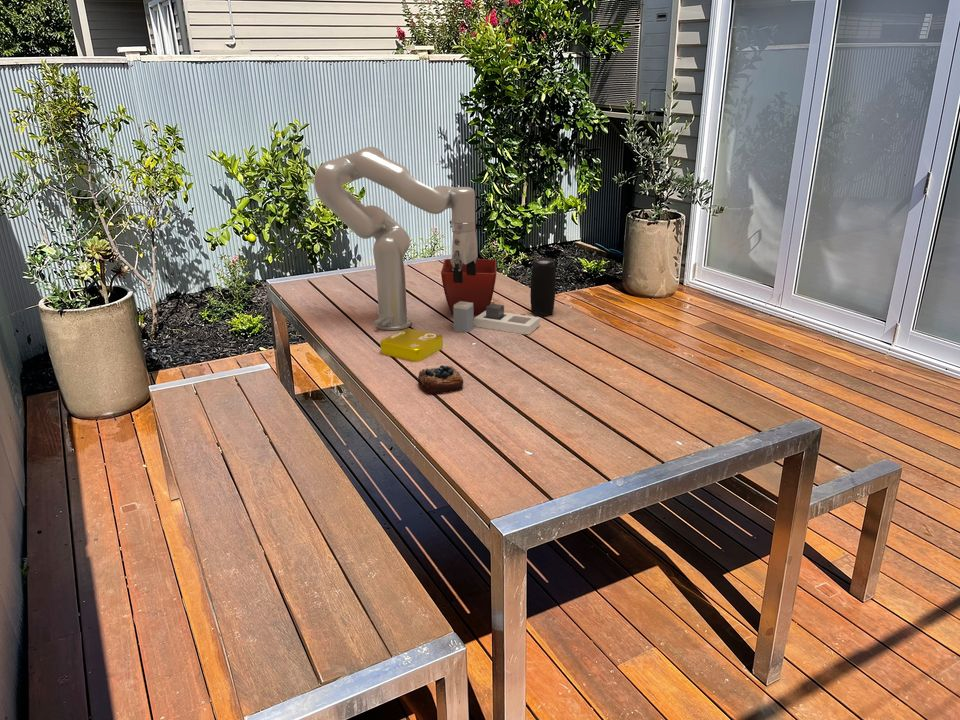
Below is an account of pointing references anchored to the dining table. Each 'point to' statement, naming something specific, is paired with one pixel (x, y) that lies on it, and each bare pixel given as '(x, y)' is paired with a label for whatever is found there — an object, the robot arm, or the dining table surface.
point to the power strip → (506, 320)
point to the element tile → (411, 344)
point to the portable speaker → (543, 286)
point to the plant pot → (470, 285)
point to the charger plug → (463, 316)
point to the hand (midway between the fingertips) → (464, 278)
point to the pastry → (440, 380)
